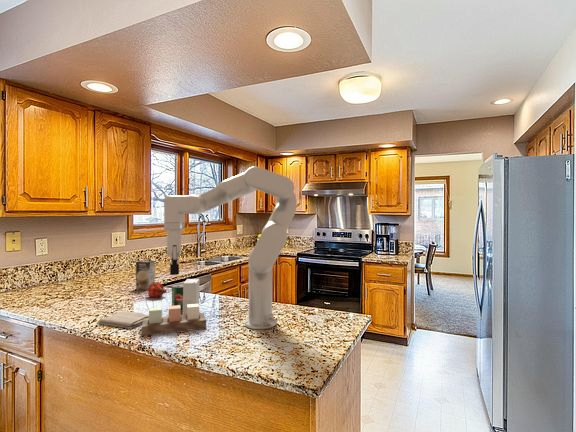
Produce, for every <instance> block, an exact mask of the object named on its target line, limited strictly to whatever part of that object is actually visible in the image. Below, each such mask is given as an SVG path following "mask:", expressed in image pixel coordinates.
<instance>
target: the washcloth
mask: <svg viewBox="0 0 576 432" xmlns="http://www.w3.org/2000/svg"><path fill="white" fill-rule="evenodd" d="M145 318H149V314H145V313H143V312H135V311H127V310H121V311H119V312H116V313H114V314H112V315H108V316H105V317H103V318H100V319H98V321H97V322H98V324H99V325H103V324H104V326H110V325H111V326H110V327H117V326H119V327H118V328H124V327H125V328H126V329H129V330H132V329H133V328H137V327H139V326H142V323H143V319H145ZM125 328H124V329H125Z"/></svg>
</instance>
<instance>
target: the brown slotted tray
mask: <svg viewBox="0 0 576 432" xmlns="http://www.w3.org/2000/svg"><path fill="white" fill-rule="evenodd" d="M202 329H207V319H206V316H205V312H199V319H193V320H187V314H185V315H183V314H181V321H174V322H169V315H167V316H162V323H154V324H149V318H145V319H143V323H142V325H141V336H150V335H159V334H166V333H169V334H170V333H176V332H186V331H191V330H192V331H194V330H202Z"/></svg>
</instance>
